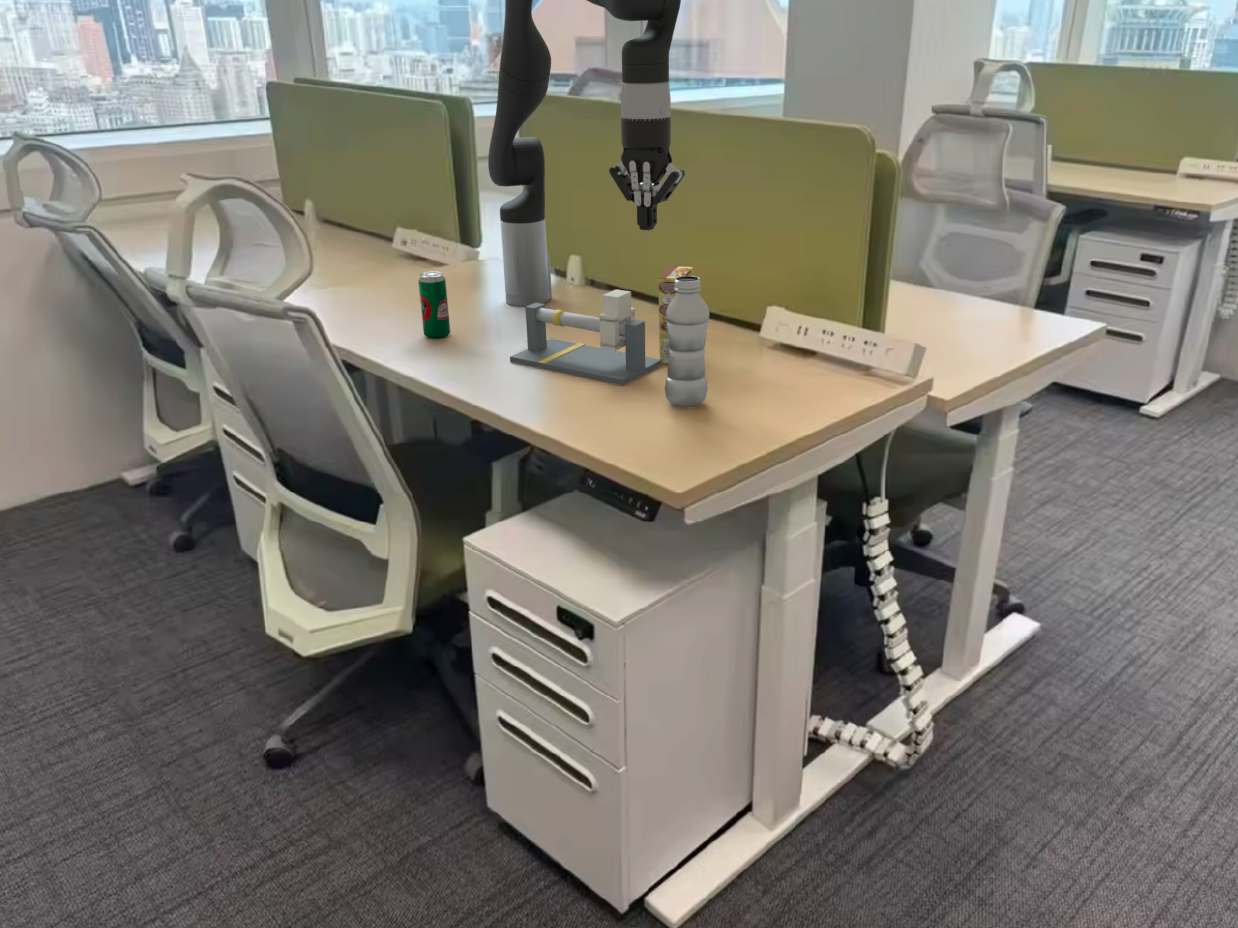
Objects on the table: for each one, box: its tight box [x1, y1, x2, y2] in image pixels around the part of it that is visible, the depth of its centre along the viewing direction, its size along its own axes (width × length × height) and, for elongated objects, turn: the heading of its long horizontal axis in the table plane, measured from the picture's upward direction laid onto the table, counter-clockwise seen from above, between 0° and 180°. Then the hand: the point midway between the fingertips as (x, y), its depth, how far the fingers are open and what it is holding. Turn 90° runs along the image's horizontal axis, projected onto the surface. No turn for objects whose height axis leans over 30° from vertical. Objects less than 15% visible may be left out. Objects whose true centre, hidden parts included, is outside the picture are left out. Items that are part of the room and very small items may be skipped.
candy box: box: [657, 265, 694, 365], centre depth 175 cm, size 9×4×15 cm, turn 162°
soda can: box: [417, 270, 451, 340], centre depth 190 cm, size 5×5×12 cm
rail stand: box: [509, 303, 662, 387], centre depth 174 cm, size 12×24×9 cm, turn 57°
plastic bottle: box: [664, 275, 710, 408], centre depth 153 cm, size 6×7×20 cm
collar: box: [599, 288, 636, 351], centre depth 168 cm, size 6×3×9 cm, turn 147°
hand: (646, 229), depth 159 cm, fingers closed
